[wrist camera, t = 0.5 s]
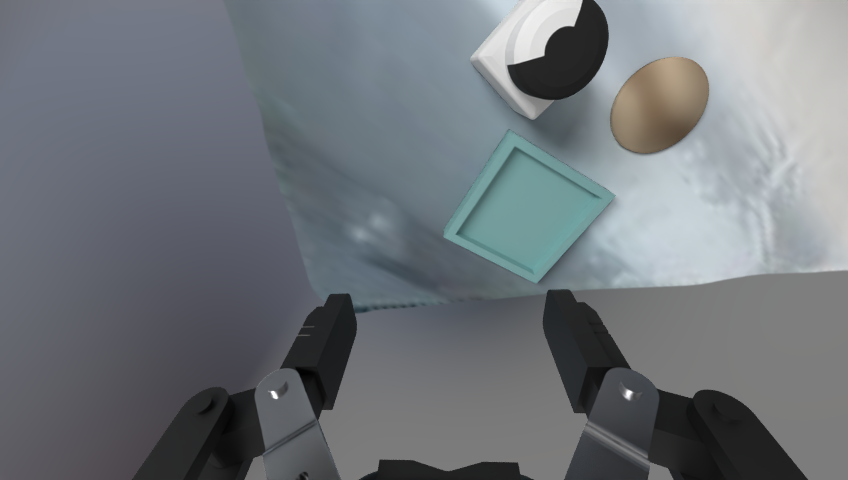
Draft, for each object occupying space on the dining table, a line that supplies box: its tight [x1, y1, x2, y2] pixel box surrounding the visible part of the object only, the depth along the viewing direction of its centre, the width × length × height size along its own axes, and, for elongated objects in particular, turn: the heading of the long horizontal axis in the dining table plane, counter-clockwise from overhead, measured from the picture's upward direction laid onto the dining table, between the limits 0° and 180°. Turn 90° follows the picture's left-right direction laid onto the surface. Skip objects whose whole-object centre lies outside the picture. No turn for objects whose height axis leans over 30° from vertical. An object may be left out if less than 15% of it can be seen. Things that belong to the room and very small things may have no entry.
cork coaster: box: [610, 57, 709, 153], centre depth 32 cm, size 9×9×1 cm
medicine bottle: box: [470, 0, 609, 120], centre depth 25 cm, size 7×7×12 cm
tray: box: [444, 130, 616, 284], centre depth 37 cm, size 14×14×2 cm
